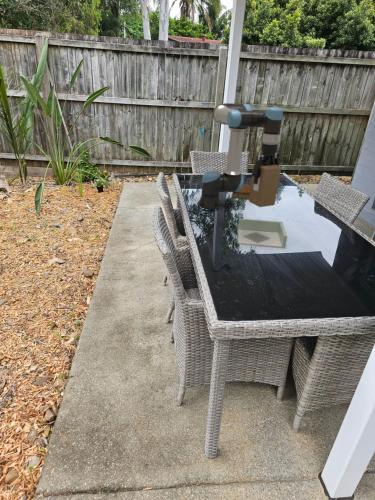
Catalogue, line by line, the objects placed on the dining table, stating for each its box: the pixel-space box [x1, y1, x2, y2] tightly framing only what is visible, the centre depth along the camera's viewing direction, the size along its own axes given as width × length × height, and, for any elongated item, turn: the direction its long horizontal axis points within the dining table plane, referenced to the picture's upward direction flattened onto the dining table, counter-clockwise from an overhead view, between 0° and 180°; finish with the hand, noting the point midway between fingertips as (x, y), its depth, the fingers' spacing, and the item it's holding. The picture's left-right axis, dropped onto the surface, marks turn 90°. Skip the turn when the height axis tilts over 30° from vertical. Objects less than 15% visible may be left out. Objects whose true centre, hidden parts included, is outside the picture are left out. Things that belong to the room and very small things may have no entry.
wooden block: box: [248, 163, 281, 208], centre depth 163 cm, size 10×10×20 cm
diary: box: [231, 183, 251, 201], centre depth 247 cm, size 23×19×6 cm
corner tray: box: [237, 218, 288, 249], centre depth 175 cm, size 24×20×7 cm
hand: (263, 188), depth 164 cm, fingers closed on wooden block, 11 cm apart
